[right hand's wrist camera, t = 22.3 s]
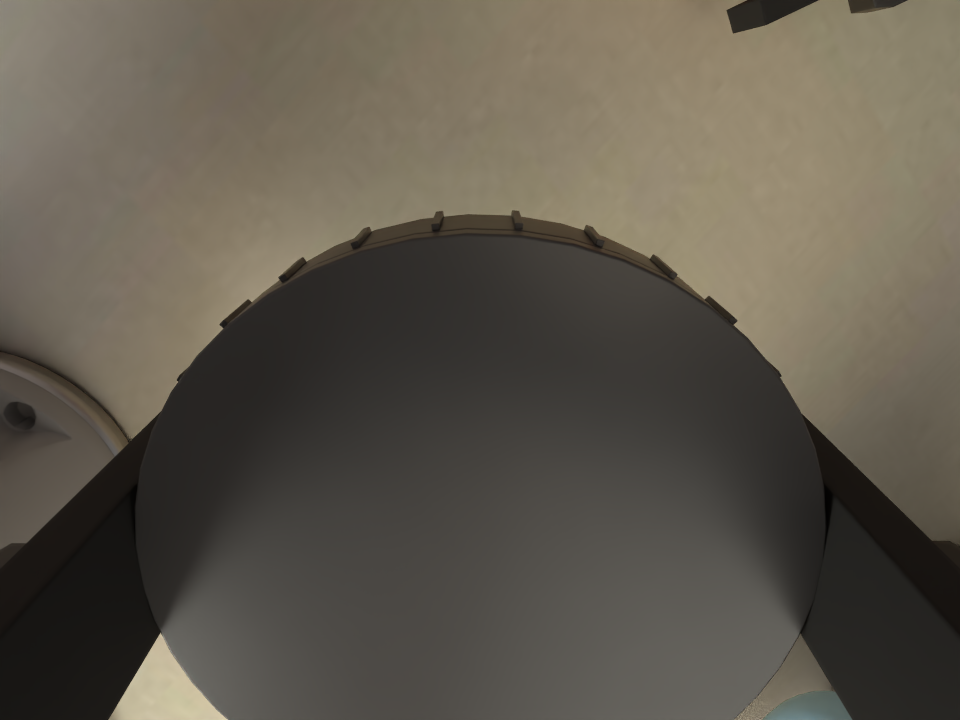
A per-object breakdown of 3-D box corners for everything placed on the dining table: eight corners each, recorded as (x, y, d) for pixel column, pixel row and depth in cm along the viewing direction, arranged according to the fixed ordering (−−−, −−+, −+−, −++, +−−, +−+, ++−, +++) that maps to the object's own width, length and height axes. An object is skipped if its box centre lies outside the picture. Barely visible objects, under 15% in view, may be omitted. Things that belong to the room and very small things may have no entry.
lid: (388, 53, 9) (371, 43, 8) (919, 454, 12) (984, 507, 10) (72, 572, 12) (16, 637, 11) (538, 809, 15) (545, 891, 13)
